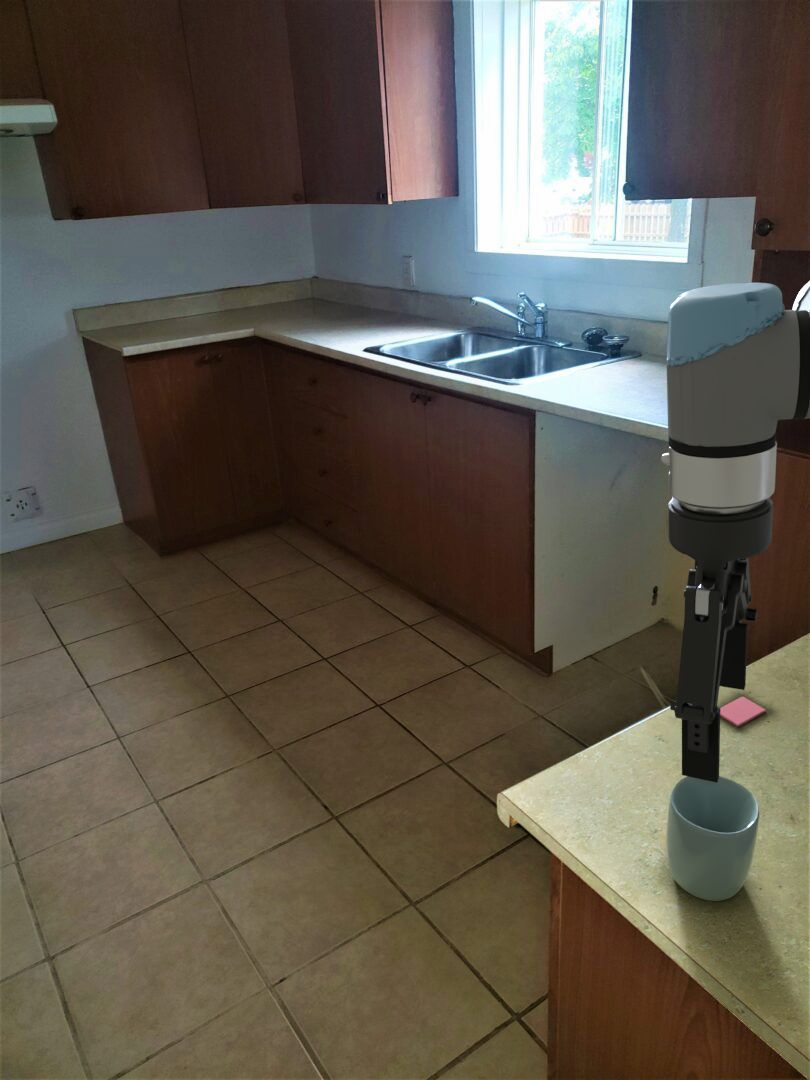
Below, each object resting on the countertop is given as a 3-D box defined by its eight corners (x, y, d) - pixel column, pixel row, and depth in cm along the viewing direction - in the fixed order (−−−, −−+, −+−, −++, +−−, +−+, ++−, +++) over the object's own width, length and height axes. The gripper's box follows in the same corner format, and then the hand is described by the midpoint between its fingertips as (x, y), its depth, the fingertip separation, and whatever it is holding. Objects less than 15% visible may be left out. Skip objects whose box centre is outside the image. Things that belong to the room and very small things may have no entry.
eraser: (741, 702, 103) (742, 696, 102) (764, 716, 100) (765, 709, 100) (714, 717, 101) (715, 710, 100) (737, 731, 98) (738, 725, 97)
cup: (757, 869, 80) (769, 790, 75) (736, 928, 74) (748, 847, 70) (677, 838, 84) (684, 763, 80) (651, 892, 78) (657, 813, 74)
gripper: (700, 446, 74) (699, 649, 82) (626, 559, 54) (634, 810, 62) (791, 448, 70) (780, 660, 78) (747, 570, 51) (739, 836, 59)
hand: (715, 727), depth 70 cm, fingers open, 13 cm apart
